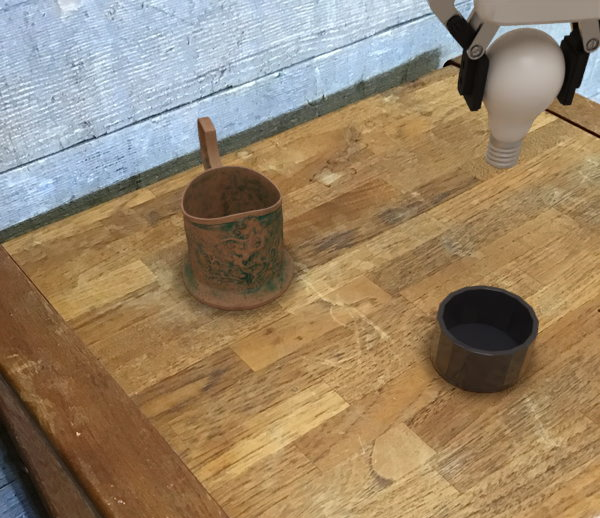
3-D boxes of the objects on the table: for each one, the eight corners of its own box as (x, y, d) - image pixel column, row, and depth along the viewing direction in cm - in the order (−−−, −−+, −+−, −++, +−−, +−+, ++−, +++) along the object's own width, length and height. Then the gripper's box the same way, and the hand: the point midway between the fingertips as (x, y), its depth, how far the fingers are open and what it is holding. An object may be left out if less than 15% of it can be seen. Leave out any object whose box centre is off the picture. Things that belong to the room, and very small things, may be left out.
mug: (260, 197, 85) (254, 99, 76) (308, 295, 74) (308, 194, 65) (162, 217, 83) (144, 118, 74) (196, 321, 72) (180, 220, 63)
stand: (509, 320, 72) (520, 281, 68) (538, 388, 66) (552, 349, 63) (421, 328, 71) (427, 289, 68) (443, 397, 66) (451, 359, 62)
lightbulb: (475, 138, 64) (500, 6, 56) (547, 156, 62) (585, 22, 54) (450, 176, 61) (473, 41, 52) (526, 196, 59) (563, 59, 50)
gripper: (451, -169, 40) (414, 132, 54) (755, -181, 41) (642, 118, 55) (422, -203, 45) (395, 82, 59) (695, -213, 46) (606, 70, 60)
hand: (515, 97), depth 57 cm, fingers closed on lightbulb, 6 cm apart
